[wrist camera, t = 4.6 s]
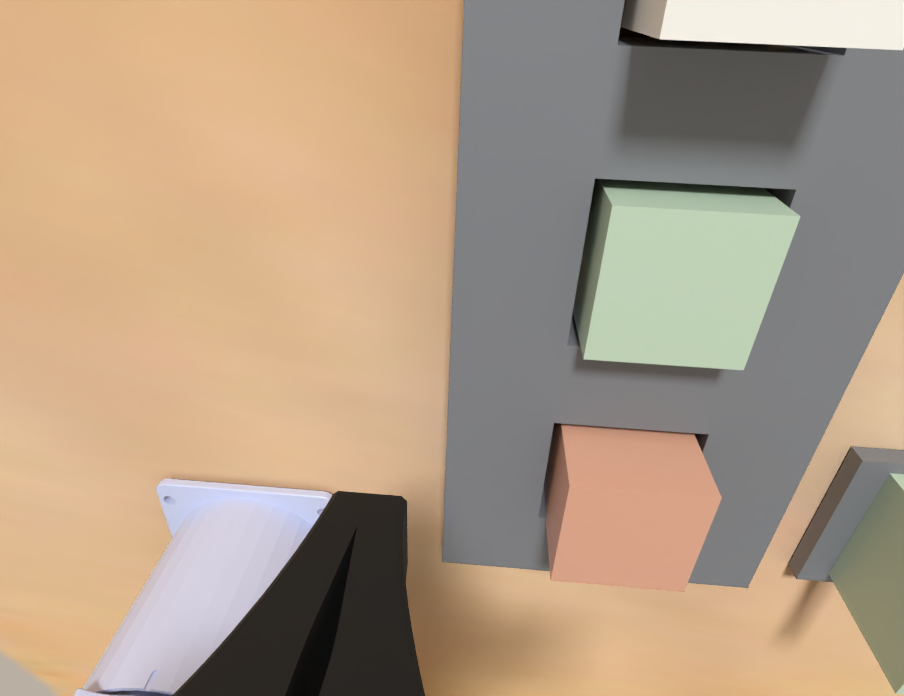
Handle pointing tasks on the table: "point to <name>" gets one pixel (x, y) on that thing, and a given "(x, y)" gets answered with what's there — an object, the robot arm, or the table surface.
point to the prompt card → (864, 550)
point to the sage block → (678, 272)
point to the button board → (562, 240)
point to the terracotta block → (626, 506)
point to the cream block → (772, 22)
